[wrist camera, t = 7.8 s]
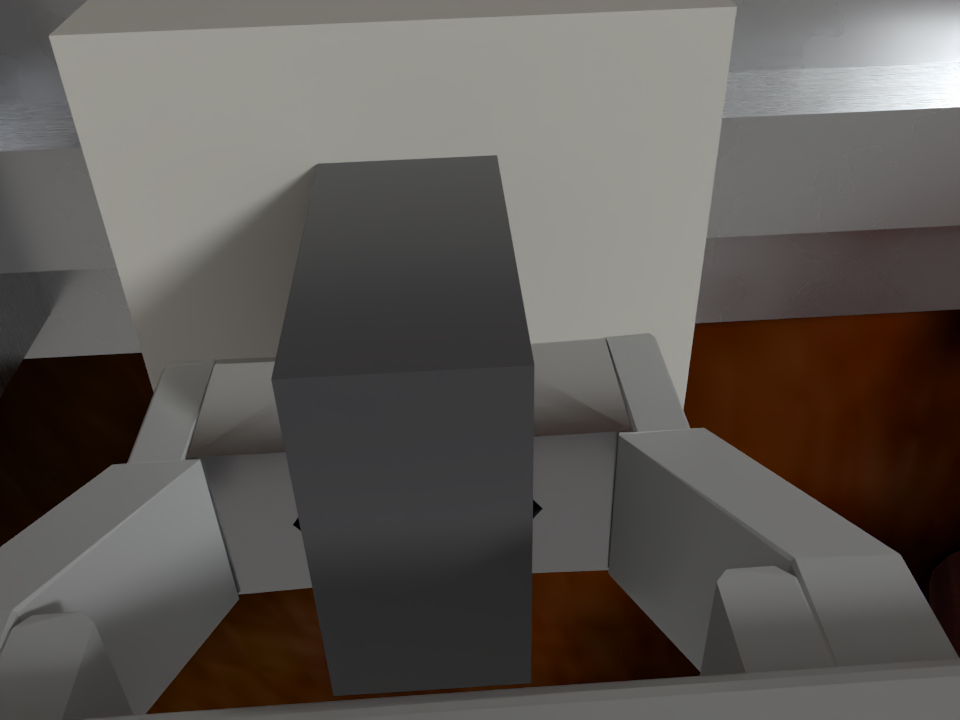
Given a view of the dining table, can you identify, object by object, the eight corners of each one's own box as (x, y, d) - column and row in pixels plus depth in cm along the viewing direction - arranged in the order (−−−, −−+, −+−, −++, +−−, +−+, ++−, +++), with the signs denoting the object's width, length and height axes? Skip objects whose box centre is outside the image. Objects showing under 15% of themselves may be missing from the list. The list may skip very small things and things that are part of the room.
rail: (-118, -114, 14) (-359, -30, 10) (1431, -171, 15) (1857, -117, 11) (39, 316, 19) (-77, 506, 15) (1216, 256, 20) (1449, 418, 15)
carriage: (160, -67, 13) (-151, 215, 6) (640, -86, 14) (904, 166, 6) (245, 334, 17) (121, 792, 10) (612, 315, 18) (752, 750, 10)
